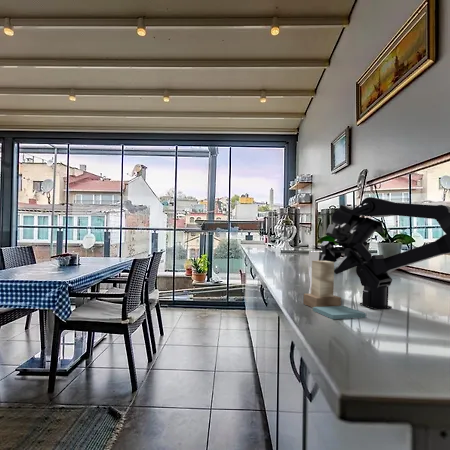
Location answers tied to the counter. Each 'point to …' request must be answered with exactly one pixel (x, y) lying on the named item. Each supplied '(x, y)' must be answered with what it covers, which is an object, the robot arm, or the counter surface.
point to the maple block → (322, 278)
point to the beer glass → (312, 257)
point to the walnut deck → (321, 301)
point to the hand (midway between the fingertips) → (326, 271)
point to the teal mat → (339, 312)
